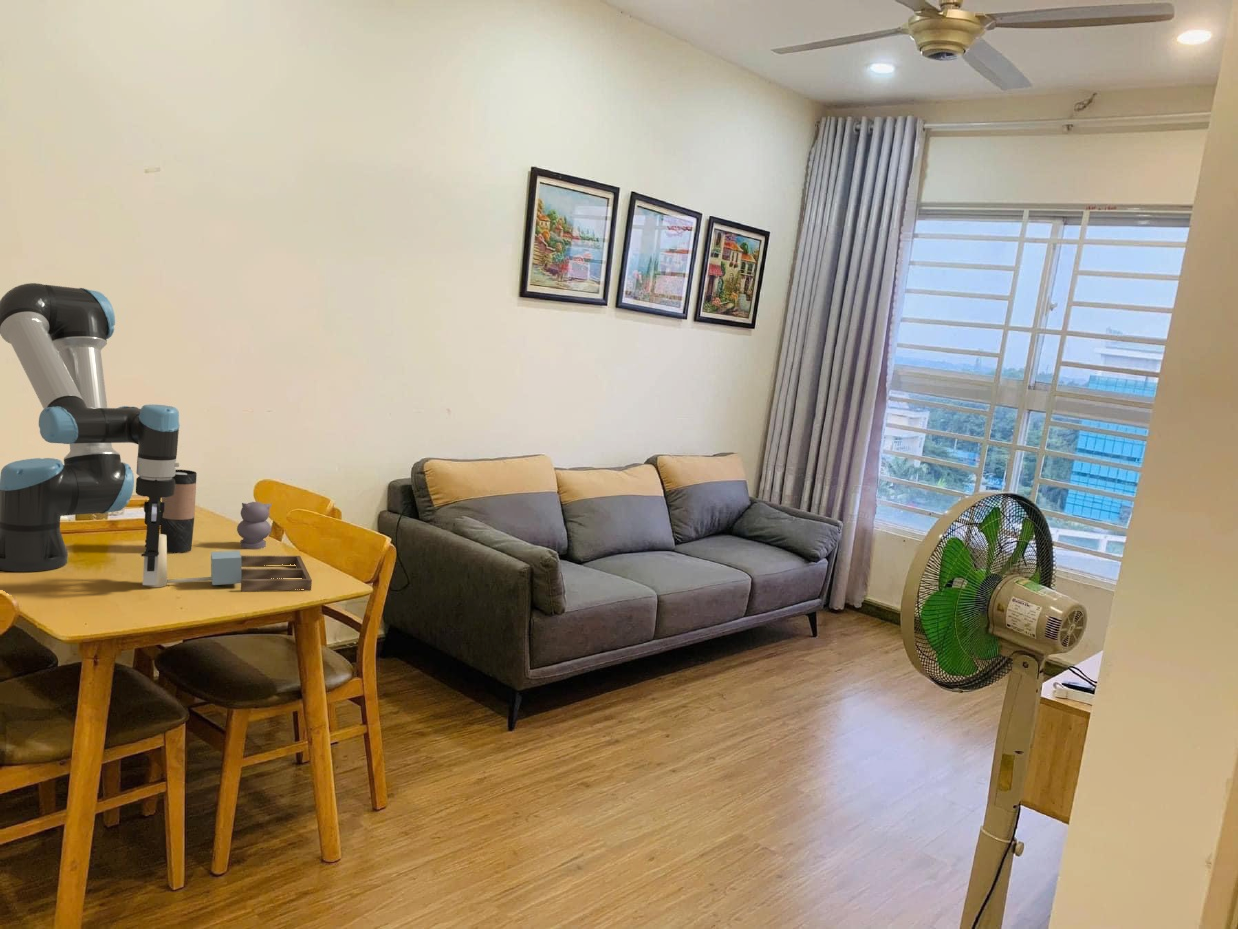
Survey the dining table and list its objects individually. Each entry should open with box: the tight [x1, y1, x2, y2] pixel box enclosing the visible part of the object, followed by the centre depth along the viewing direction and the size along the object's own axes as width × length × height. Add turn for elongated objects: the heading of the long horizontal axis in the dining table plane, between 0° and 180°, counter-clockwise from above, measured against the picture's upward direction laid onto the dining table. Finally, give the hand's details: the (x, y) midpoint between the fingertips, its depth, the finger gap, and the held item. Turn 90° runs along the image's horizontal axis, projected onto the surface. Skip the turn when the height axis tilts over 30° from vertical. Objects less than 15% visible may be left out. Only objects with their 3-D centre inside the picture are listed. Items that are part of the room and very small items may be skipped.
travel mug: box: [159, 469, 198, 554], centre depth 229 cm, size 8×8×20 cm
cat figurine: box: [236, 501, 273, 550], centre depth 242 cm, size 8×8×12 cm
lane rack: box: [240, 554, 313, 592], centre depth 216 cm, size 15×22×2 cm
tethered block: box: [146, 533, 242, 588], centre depth 203 cm, size 19×6×11 cm, turn 116°
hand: (149, 581), depth 200 cm, fingers closed on tethered block, 4 cm apart
